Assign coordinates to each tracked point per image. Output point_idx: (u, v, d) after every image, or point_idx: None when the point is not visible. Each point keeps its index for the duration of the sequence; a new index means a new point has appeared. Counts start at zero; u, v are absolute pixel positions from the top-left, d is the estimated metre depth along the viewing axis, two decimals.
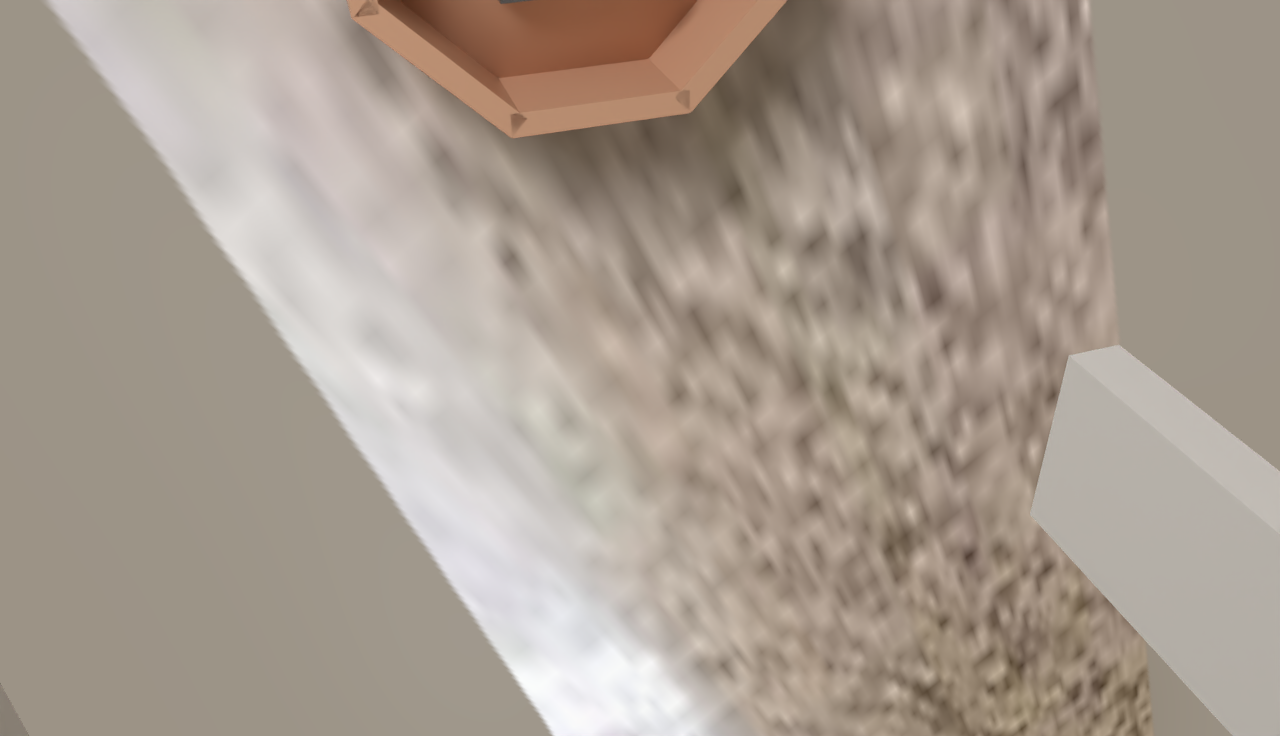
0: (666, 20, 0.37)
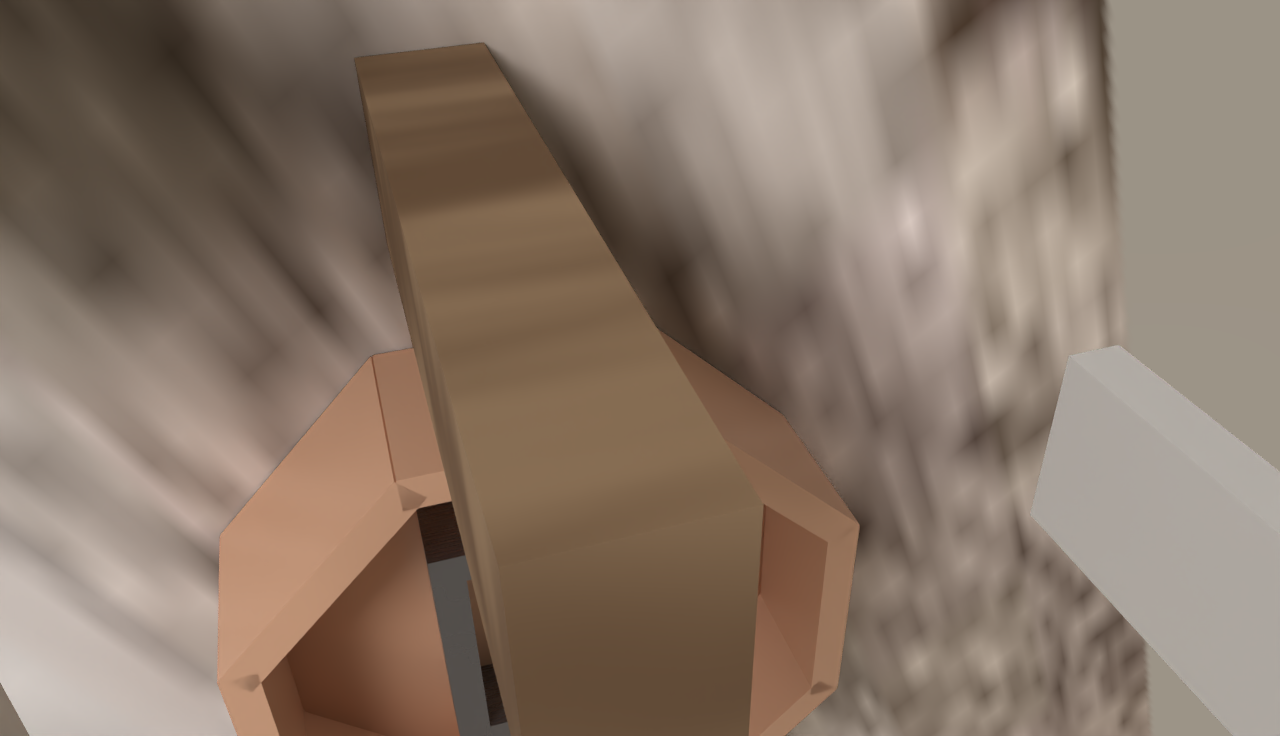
0: None
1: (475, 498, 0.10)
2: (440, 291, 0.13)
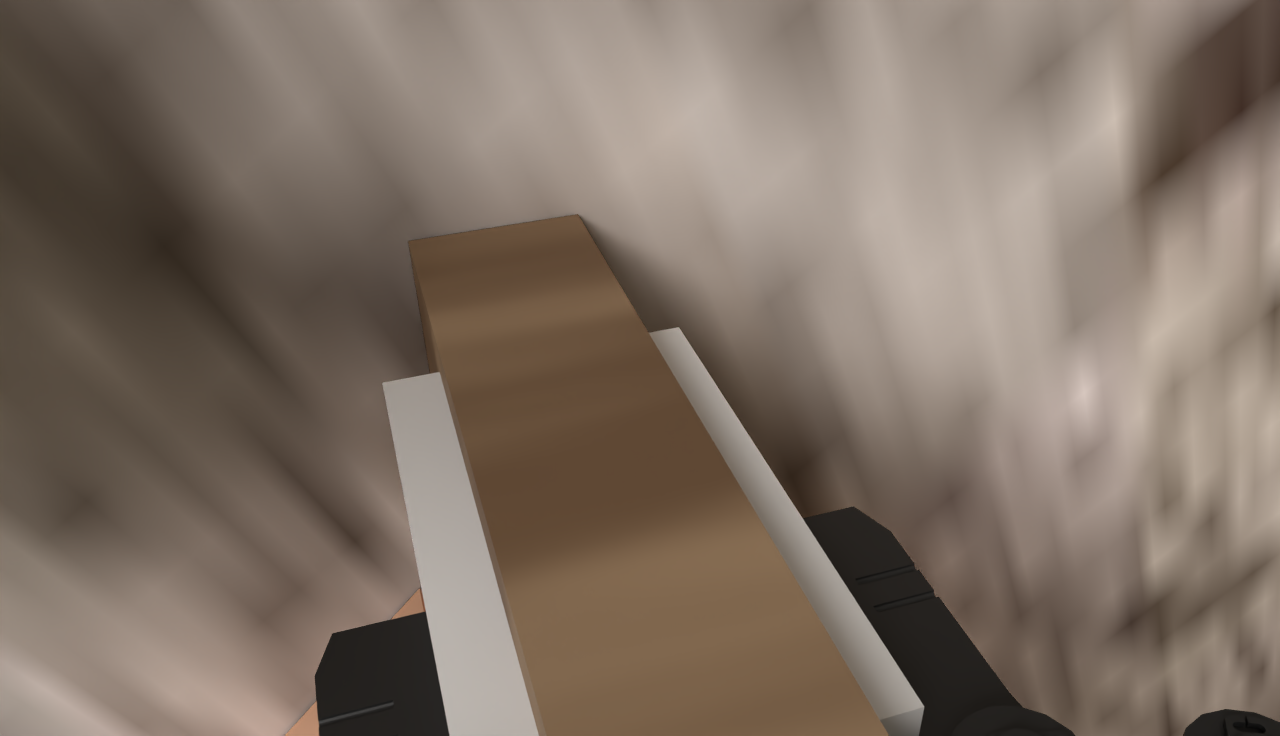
0: None
1: None
2: None
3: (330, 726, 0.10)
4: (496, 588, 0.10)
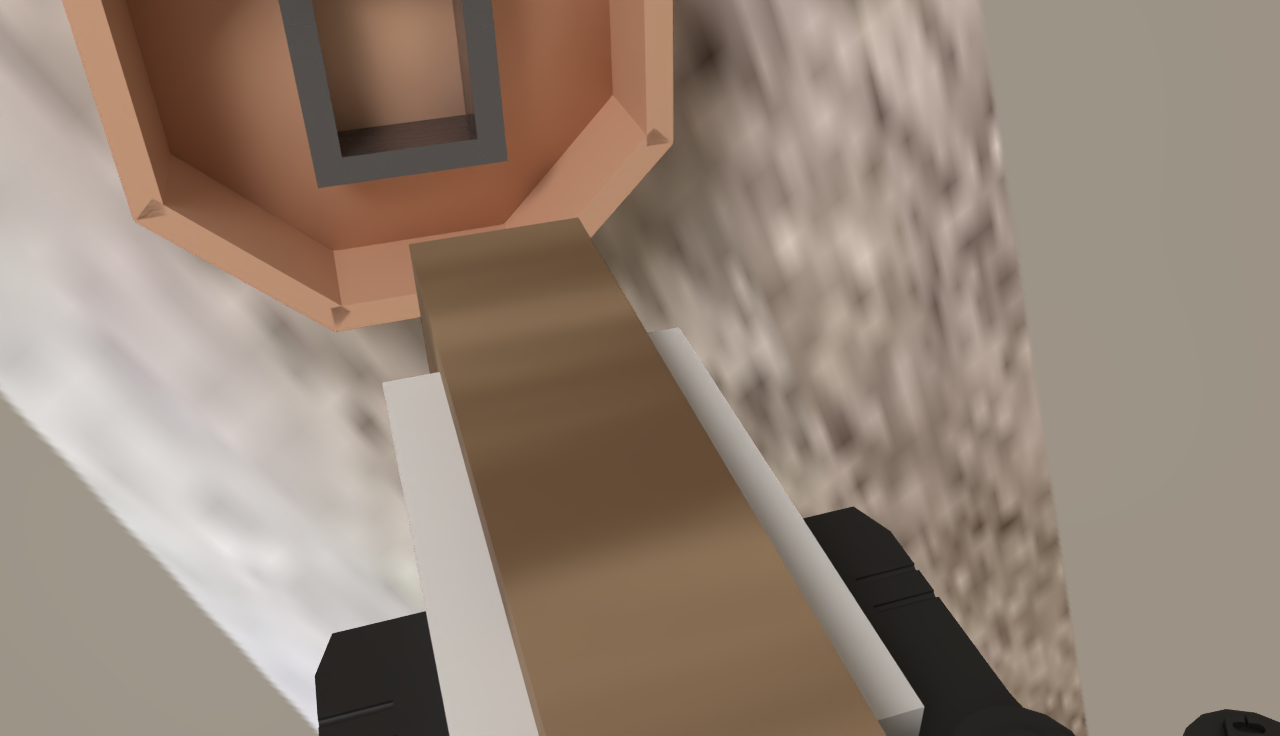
0: (521, 185, 0.34)
1: None
2: None
3: (330, 726, 0.10)
4: (496, 588, 0.10)
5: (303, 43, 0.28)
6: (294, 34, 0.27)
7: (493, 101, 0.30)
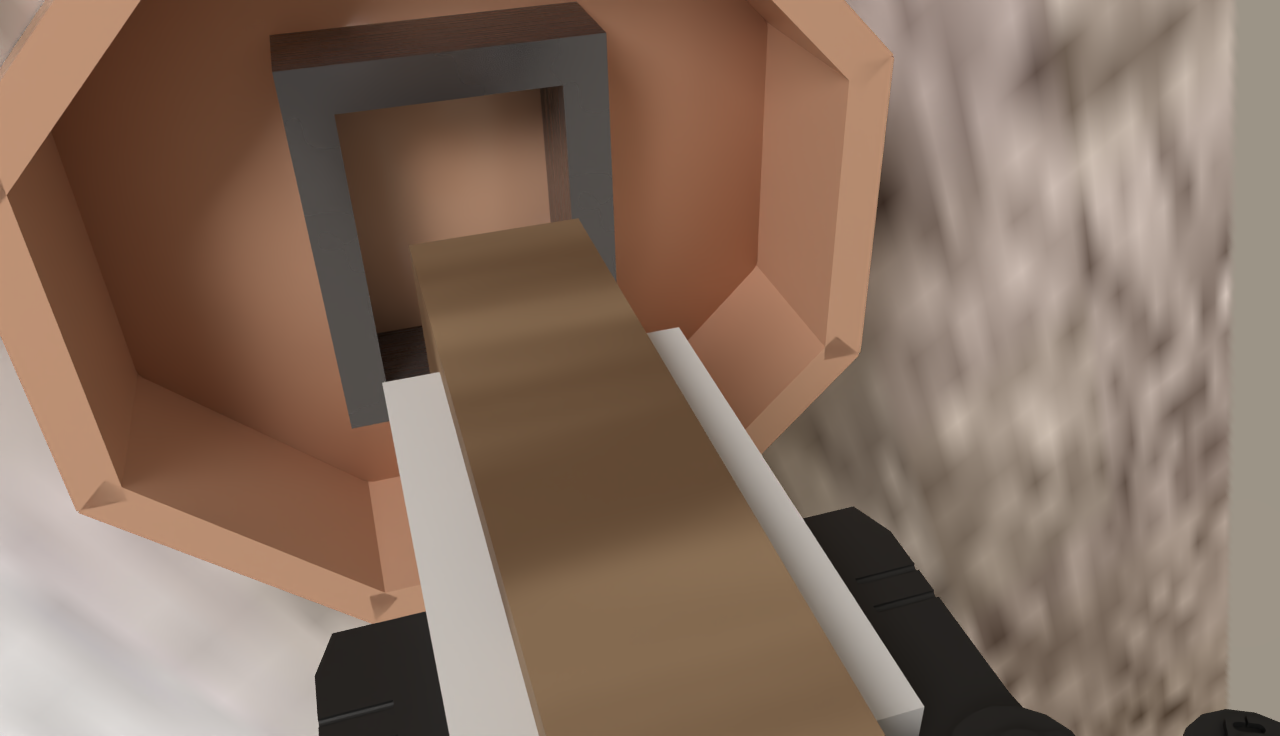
0: None
1: None
2: None
3: (330, 726, 0.10)
4: (496, 588, 0.10)
5: (333, 239, 0.18)
6: (320, 227, 0.18)
7: None
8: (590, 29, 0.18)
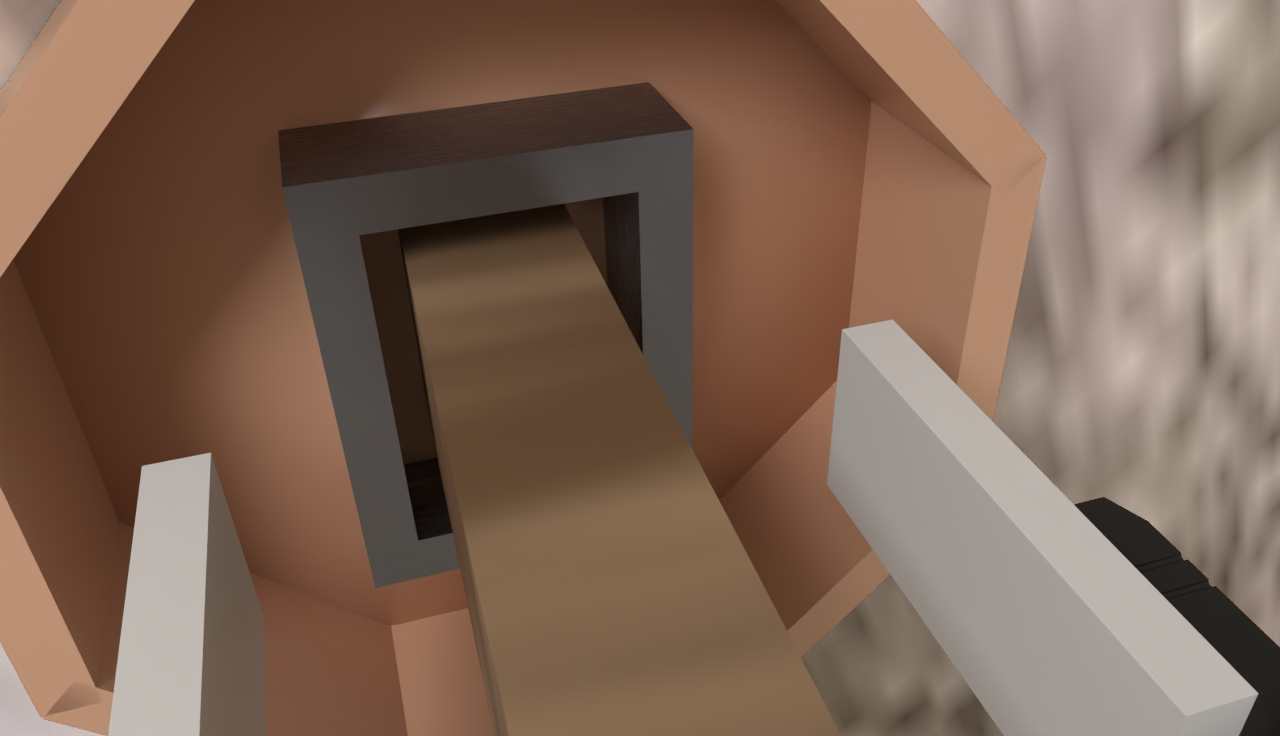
0: None
1: None
2: (531, 696, 0.09)
3: None
4: (194, 727, 0.09)
5: (356, 378, 0.15)
6: (340, 365, 0.15)
7: None
8: (672, 124, 0.15)
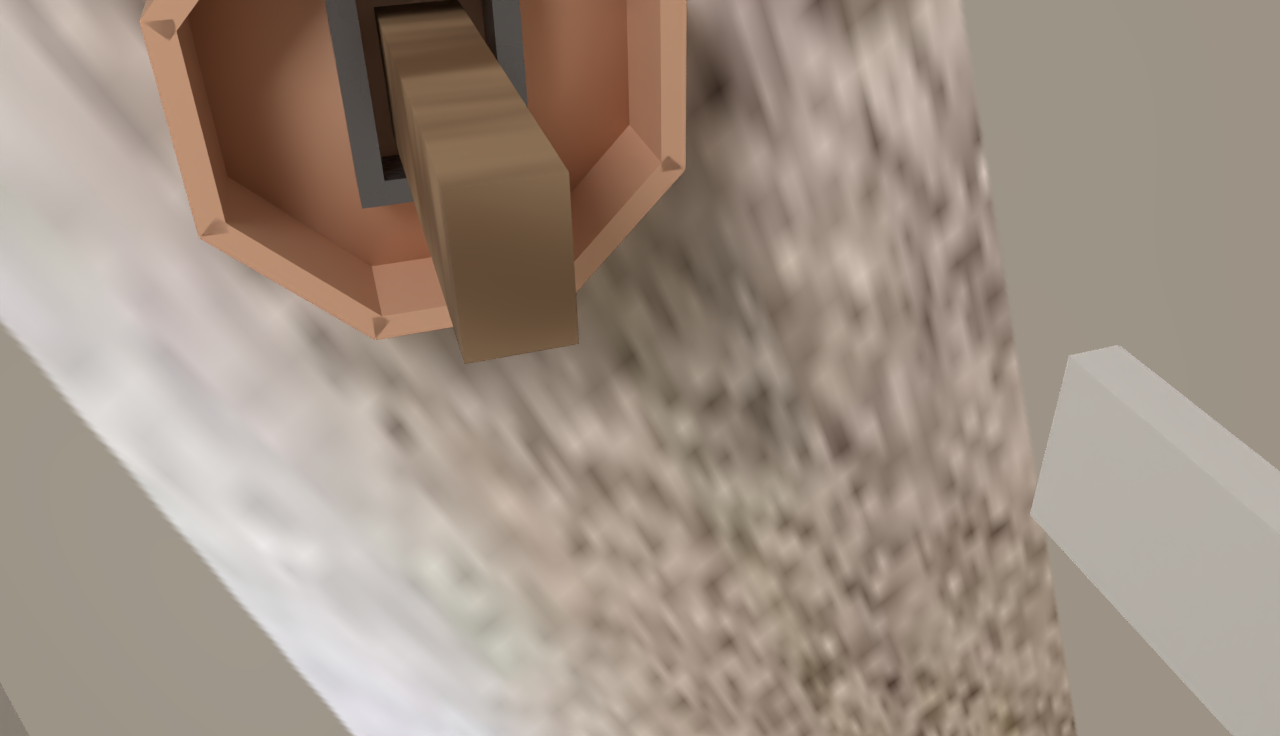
0: None
1: (434, 179, 0.22)
2: (421, 106, 0.24)
3: None
4: None
5: (353, 78, 0.31)
6: (345, 70, 0.30)
7: None
8: None
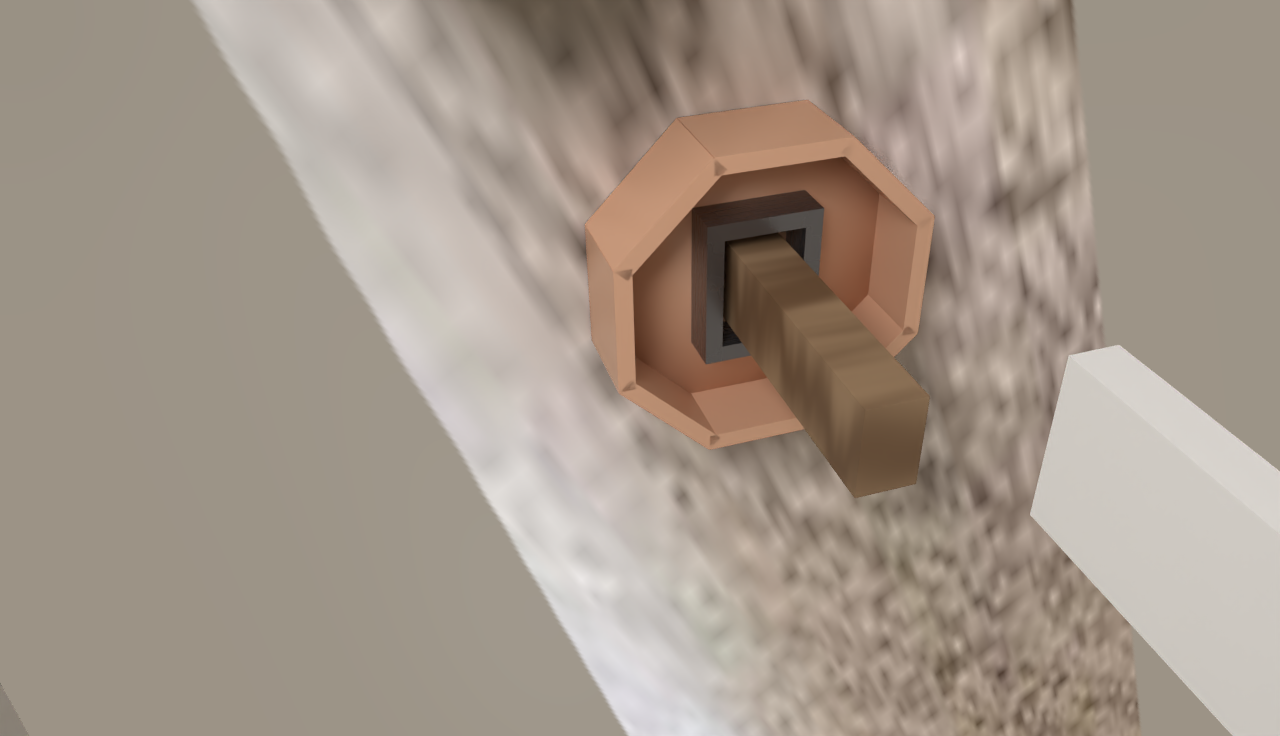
0: None
1: (847, 396, 0.38)
2: (811, 337, 0.40)
3: None
4: None
5: (715, 287, 0.47)
6: (711, 282, 0.46)
7: None
8: (817, 206, 0.46)
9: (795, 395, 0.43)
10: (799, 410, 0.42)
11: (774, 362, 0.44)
